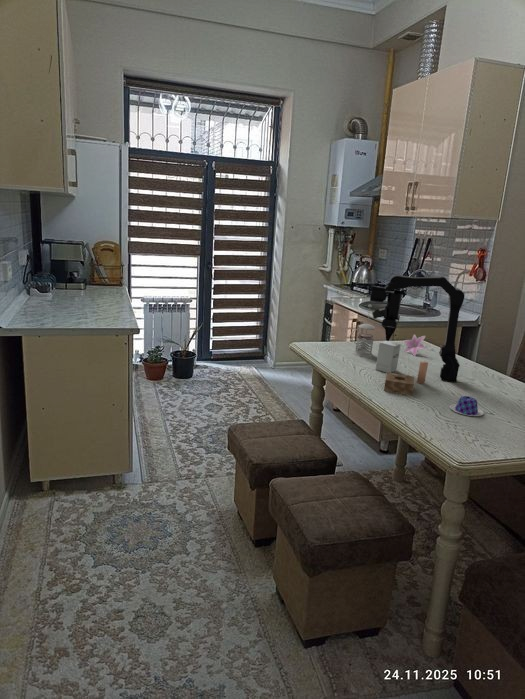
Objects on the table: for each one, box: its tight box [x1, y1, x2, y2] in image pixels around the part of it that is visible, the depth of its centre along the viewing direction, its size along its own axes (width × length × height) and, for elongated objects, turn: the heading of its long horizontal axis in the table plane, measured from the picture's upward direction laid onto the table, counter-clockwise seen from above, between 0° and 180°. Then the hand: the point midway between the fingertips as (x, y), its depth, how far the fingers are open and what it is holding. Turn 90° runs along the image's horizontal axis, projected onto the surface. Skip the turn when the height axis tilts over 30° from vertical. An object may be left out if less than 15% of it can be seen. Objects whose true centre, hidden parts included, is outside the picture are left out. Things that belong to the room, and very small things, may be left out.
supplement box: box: [375, 340, 402, 374], centre depth 240 cm, size 7×7×13 cm
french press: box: [351, 304, 376, 358], centre depth 262 cm, size 10×12×25 cm
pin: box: [416, 360, 429, 385], centre depth 227 cm, size 3×3×9 cm
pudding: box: [449, 395, 484, 417], centre depth 198 cm, size 12×12×5 cm
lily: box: [402, 334, 426, 357], centre depth 275 cm, size 12×12×10 cm
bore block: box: [383, 372, 415, 396], centre depth 216 cm, size 11×11×4 cm
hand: (388, 338), depth 237 cm, fingers open, 9 cm apart
